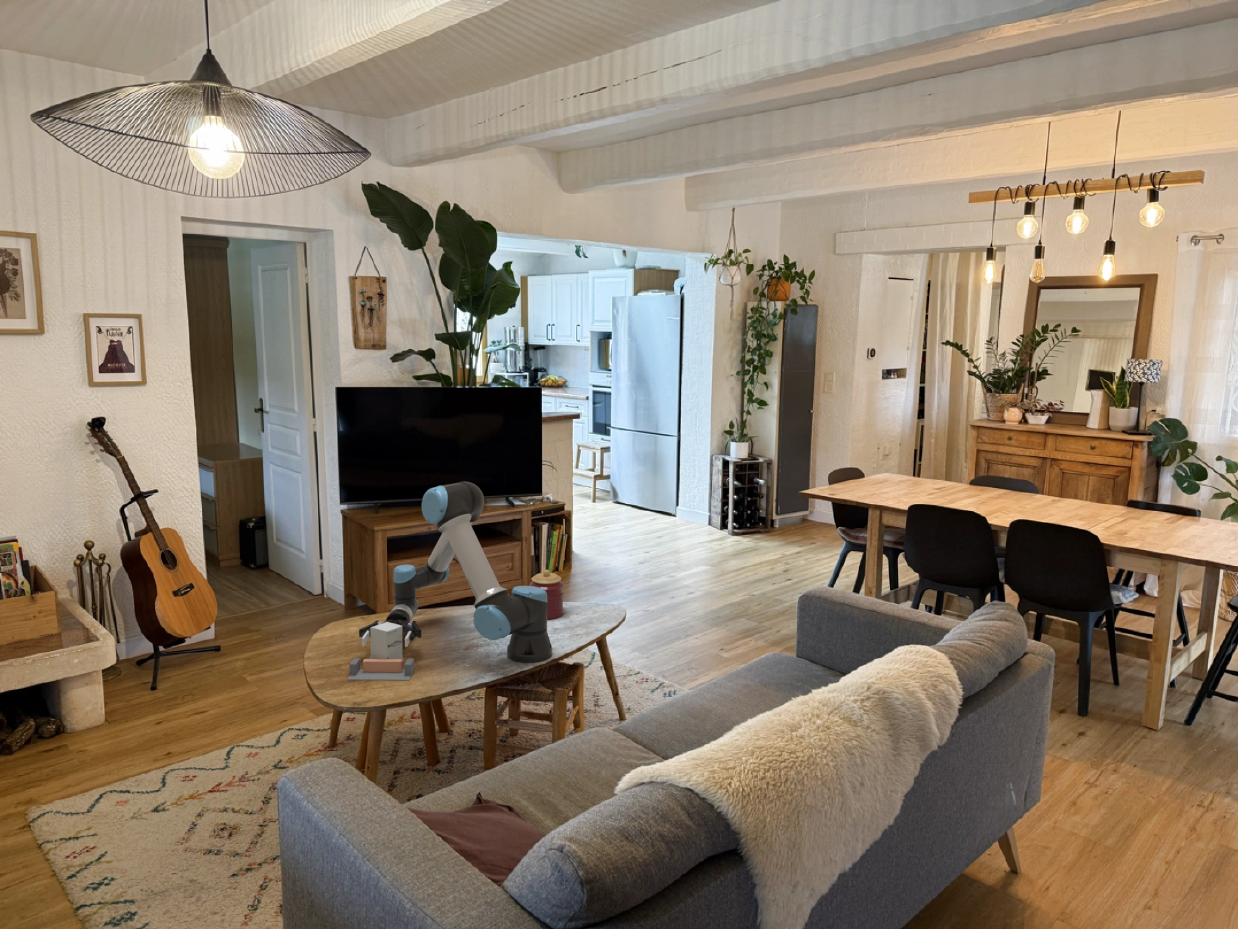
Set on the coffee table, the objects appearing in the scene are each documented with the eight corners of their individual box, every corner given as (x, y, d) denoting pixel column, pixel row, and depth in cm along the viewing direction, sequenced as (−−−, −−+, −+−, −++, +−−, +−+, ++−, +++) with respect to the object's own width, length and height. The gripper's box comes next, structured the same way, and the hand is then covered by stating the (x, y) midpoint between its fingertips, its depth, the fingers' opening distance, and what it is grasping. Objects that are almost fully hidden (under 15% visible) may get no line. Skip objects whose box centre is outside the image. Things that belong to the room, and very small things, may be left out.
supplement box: (386, 669, 268) (385, 631, 266) (369, 664, 271) (369, 627, 270) (403, 662, 274) (403, 625, 272) (387, 658, 278) (386, 621, 276)
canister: (567, 610, 326) (567, 566, 323) (557, 621, 314) (557, 576, 311) (535, 607, 329) (535, 563, 326) (524, 618, 317) (524, 573, 314)
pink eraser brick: (364, 669, 267) (364, 659, 267) (402, 669, 268) (402, 659, 267) (363, 672, 265) (362, 661, 265) (401, 672, 266) (401, 661, 265)
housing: (354, 669, 268) (353, 658, 267) (414, 670, 268) (414, 658, 268) (347, 680, 260) (346, 668, 259) (409, 680, 261) (408, 668, 260)
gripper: (435, 629, 290) (424, 653, 269) (362, 629, 289) (345, 653, 268) (435, 608, 289) (423, 631, 268) (362, 608, 288) (344, 631, 267)
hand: (384, 642), depth 268 cm, fingers open, 13 cm apart
